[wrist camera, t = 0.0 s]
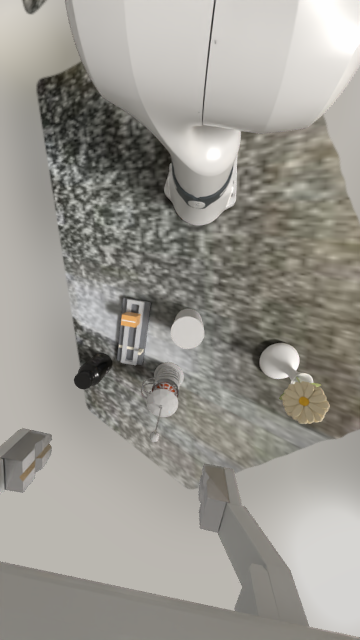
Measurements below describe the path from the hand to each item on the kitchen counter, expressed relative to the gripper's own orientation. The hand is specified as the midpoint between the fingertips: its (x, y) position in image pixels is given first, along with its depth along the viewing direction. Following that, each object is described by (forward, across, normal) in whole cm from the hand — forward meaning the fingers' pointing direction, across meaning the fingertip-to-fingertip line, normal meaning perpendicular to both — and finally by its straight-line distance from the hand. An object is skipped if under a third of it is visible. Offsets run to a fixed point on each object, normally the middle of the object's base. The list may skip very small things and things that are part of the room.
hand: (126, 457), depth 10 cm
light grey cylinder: (+48, -3, +3) cm, 48 cm away
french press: (+48, +1, +22) cm, 53 cm away
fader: (+46, +13, +4) cm, 48 cm away
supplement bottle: (+48, +22, +22) cm, 57 cm away
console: (+48, +13, +9) cm, 51 cm away
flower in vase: (+48, -31, +10) cm, 58 cm away
